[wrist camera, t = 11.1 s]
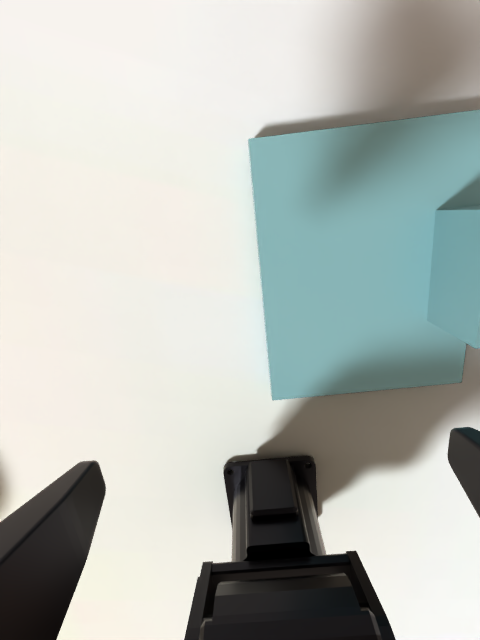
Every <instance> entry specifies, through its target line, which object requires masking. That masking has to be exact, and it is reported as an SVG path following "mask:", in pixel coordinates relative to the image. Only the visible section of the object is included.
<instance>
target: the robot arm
mask: <svg viewBox="0 0 480 640" xmlns="http://www.w3.org/2000/svg"><path fill="white" fill-rule="evenodd" d="M448 461H449V464H450V466H451V468H452V469H453V471H454V473H455V475H456V477H457V478H458V480H459V482H460V484H461V485H462V487H463V489H464V491H465V493H466V494H467V496H468V498H469V500H470V501H471V503H472V505H473V507H474V509H475V510H476V512H477V514H478V516H479V517H480V431H478V430H476V429H473V428H470V427H463V428H454V429H452V430H451V432H450V439H449V447H448ZM306 463H310V464H306ZM229 470H233V471H229ZM224 479H225V486H226V492H227V498H228V505H229V511H230V517H231V523H232V562H224V563H213V561H212V562H203V565H202V569H201V574H200V577H198V579H197V584H196V588H195V593H194V597H193V602H192V607H191V611H190V616H189V620H188V625H187V630H186V634H185V639H184V640H395V637H394V634H393V631H392V628H391V626H390V623H389V621H388V619H387V616H386V614H385V612H384V610H383V608H382V605H381V603H380V601H379V599H378V597H377V595H376V592H375V590H374V588H373V586H372V584H371V582H370V580H369V577H368V575H367V573H366V571H365V569H364V567H363V565H362V562H361V560H360V558H359V556H358V554H357V552H356V551H346V553H345V554H331V555H326V551H325V547H324V543H323V539H322V535H321V531H320V527H319V523H318V513H317V490H316V466H315V462H314V459H313V458H312V457H311V456H299V457H288V458H276V459H265V460H253V461H242V462H230V463H227V464H225V466H224ZM105 491H106V486H105V482H104V479H103V475H102V472H101V469H100V466H99V463H98V462H97V461H94V460H93V461H83V462H80V463H78V464H77V465H75V466H74V467H73V468H71V469H70V470H69V471H67V472H66V473H65V474H63V475H62V476H61V477H59V478H58V479H57V480H55V481H54V482H53V483H52V484H50V485H49V486H48V487H46V488H45V489H44V490H42V491H41V492H40V493H38V494H37V495H36V496H34V497H33V498H32V499H30V500H29V501H28V502H26V503H25V504H24V505H22V506H21V507H20V508H19V509H17V510H16V511H15V512H13V513H12V514H11V515H9V516H8V517H7V518H5V519H4V520H3V521H1V522H0V640H56V639H57V636H58V634H59V631H60V628H61V626H62V623H63V620H64V618H65V615H66V613H67V610H68V607H69V605H70V602H71V600H72V597H73V594H74V592H75V589H76V586H77V584H78V581H79V579H80V576H81V573H82V571H83V568H84V565H85V562H86V560H87V556H88V553H89V550H90V547H91V543H92V539H93V536H94V532H95V529H96V525H97V522H98V518H99V514H100V511H101V507H102V504H103V500H104V497H105Z"/></svg>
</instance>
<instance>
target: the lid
mask: <svg viewBox="0 0 480 640" xmlns="http://www.w3.org/2000/svg"><path fill="white" fill-rule="evenodd" d="M248 145H249V156H250V167H251V178H252V189H253V199H254V210H255V221H256V232H257V243H258V254H259V265H260V276H261V286H262V297H263V308H264V319H265V330H266V341H267V352H268V363H269V373H270V384H271V394H272V400H281V399H292V398H303V397H313V396H324V395H335V394H345V393H356V392H366V391H377V390H388V389H398V388H409V387H420V386H430V385H441V384H451V383H462V376H463V367H464V359H465V351H466V343H467V344H468V345H470V346H472V347H473V348H475V349H477V348H480V110H473V111H465V112H457V113H449V114H441V115H433V116H425V117H417V118H410V119H402V120H394V121H386V122H378V123H370V124H362V125H354V126H347V127H339V128H331V129H323V130H315V131H307V132H299V133H291V134H283V135H276V136H268V137H260V138H252V139H249V140H248Z"/></svg>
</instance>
